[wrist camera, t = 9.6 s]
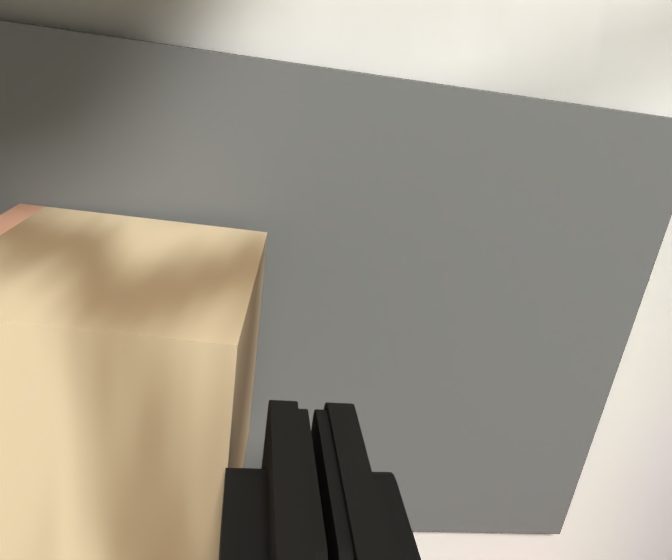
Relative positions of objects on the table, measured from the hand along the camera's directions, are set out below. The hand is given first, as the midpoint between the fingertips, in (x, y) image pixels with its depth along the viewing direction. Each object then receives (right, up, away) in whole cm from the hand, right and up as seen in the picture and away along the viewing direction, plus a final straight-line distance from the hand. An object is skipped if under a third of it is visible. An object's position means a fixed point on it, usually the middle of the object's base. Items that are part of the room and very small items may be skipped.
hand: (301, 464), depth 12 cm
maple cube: (-1, +1, +2) cm, 2 cm away
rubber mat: (-4, +3, +5) cm, 7 cm away
